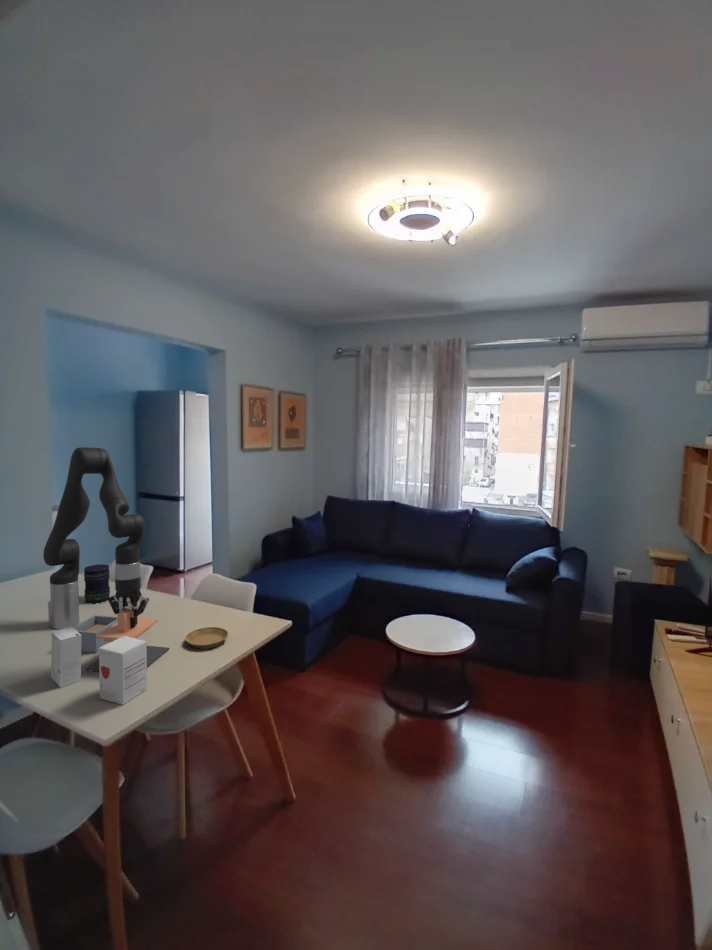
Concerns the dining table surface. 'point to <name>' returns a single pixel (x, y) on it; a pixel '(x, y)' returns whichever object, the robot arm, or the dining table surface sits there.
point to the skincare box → (66, 656)
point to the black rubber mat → (152, 656)
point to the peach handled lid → (126, 627)
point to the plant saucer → (206, 637)
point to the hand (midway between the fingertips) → (129, 626)
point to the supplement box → (123, 669)
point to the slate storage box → (94, 632)
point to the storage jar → (96, 583)
